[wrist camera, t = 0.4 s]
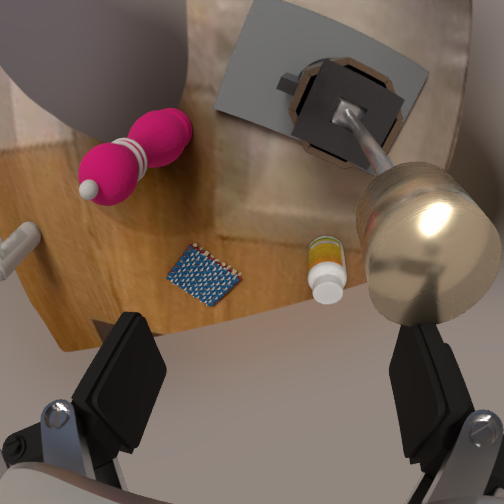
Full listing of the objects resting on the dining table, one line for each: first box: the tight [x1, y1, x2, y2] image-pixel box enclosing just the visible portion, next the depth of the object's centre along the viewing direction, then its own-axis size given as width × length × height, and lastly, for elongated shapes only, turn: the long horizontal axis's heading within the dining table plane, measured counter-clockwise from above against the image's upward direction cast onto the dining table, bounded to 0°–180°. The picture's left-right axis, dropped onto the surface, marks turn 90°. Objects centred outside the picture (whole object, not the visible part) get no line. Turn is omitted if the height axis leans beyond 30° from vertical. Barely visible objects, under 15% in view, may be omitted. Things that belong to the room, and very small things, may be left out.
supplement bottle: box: [308, 236, 347, 305], centre depth 42 cm, size 5×5×10 cm
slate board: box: [214, 0, 429, 176], centre depth 31 cm, size 16×22×1 cm
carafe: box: [276, 57, 405, 170], centre depth 27 cm, size 10×11×12 cm
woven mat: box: [166, 243, 242, 306], centre depth 53 cm, size 10×11×2 cm
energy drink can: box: [0, 222, 41, 281], centre depth 49 cm, size 6×6×15 cm
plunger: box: [307, 93, 502, 327], centre depth 15 cm, size 7×7×21 cm
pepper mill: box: [78, 108, 193, 206], centre depth 30 cm, size 7×7×20 cm
